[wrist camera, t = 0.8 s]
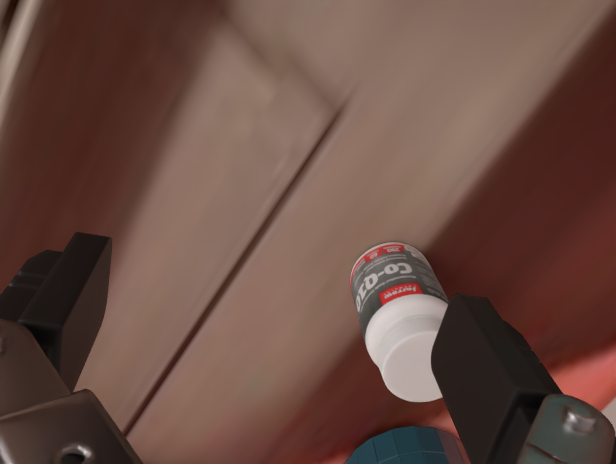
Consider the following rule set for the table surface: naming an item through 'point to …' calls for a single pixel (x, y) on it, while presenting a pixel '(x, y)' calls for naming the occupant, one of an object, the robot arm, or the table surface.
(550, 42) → the table surface
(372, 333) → the pill bottle
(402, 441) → the bowl
